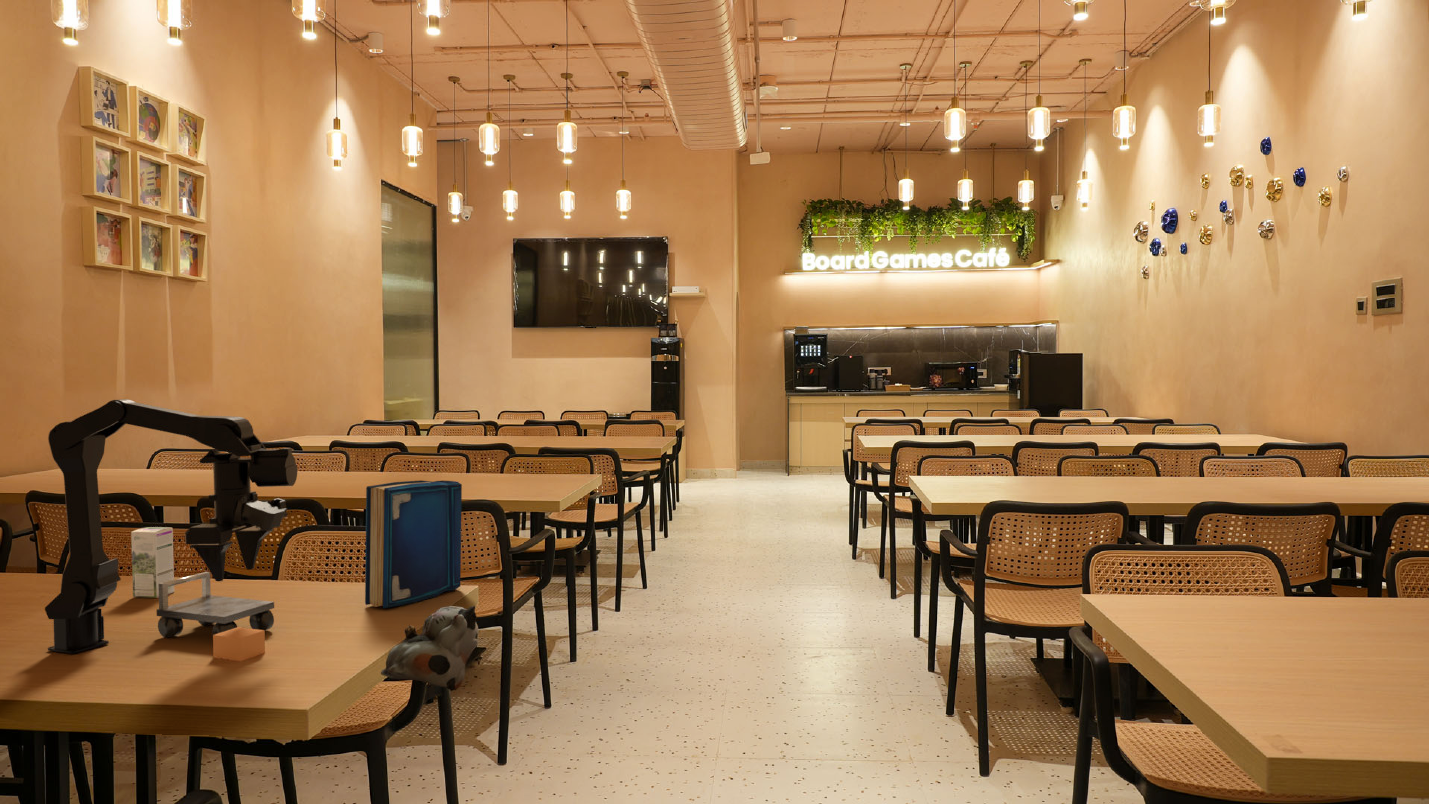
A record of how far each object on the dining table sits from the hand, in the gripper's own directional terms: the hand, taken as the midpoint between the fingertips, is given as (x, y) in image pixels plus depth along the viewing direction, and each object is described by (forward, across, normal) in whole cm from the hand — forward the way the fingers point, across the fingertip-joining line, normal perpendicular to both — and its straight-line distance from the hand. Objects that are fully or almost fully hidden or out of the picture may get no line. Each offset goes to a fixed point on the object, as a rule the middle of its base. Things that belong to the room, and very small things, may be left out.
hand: (235, 575), depth 158 cm
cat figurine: (+13, -19, -42) cm, 48 cm away
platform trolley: (+12, +5, +7) cm, 15 cm away
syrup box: (+12, +32, +38) cm, 52 cm away
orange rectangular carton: (+12, -7, -4) cm, 15 cm away
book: (+13, +32, -20) cm, 40 cm away
